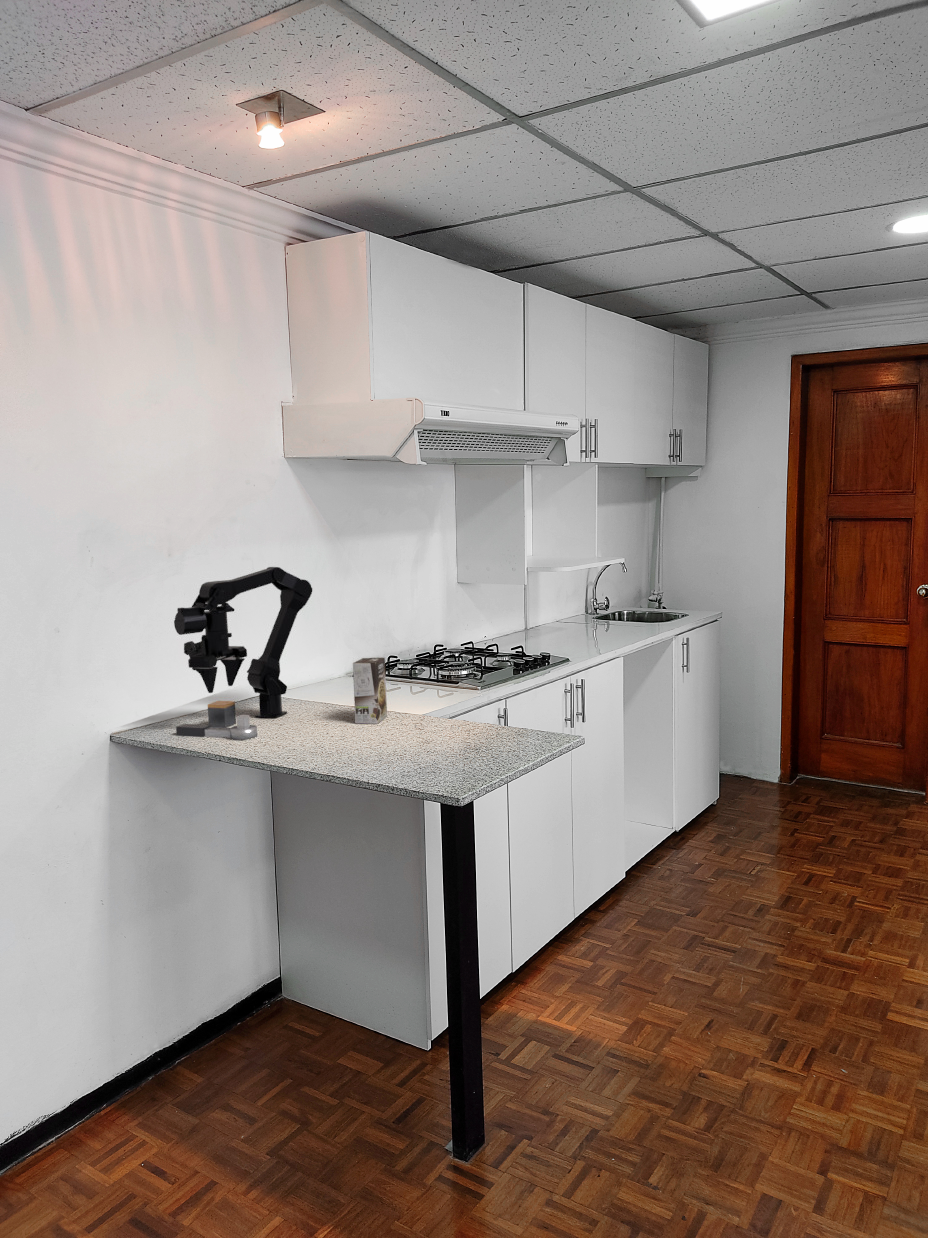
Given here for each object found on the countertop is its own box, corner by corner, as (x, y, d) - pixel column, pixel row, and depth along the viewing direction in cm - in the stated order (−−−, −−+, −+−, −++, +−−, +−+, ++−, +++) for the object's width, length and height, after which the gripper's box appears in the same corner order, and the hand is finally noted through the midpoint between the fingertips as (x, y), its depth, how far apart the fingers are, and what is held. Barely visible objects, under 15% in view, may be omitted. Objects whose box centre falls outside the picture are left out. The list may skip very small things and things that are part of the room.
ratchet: (188, 730, 239) (186, 710, 238) (262, 734, 232) (260, 713, 231) (173, 736, 233) (171, 715, 232) (248, 741, 226) (247, 719, 225)
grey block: (219, 722, 247) (218, 700, 246) (236, 723, 245) (234, 701, 245) (208, 727, 242) (207, 704, 241) (225, 728, 241) (224, 705, 240)
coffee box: (378, 724, 239) (375, 662, 237) (354, 724, 240) (351, 662, 239) (388, 716, 248) (385, 656, 246) (365, 716, 249) (362, 657, 247)
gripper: (210, 625, 252) (214, 681, 254) (168, 635, 235) (172, 695, 236) (246, 625, 249) (250, 682, 250) (206, 635, 231) (210, 696, 233)
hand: (220, 689), depth 243 cm, fingers open, 9 cm apart
